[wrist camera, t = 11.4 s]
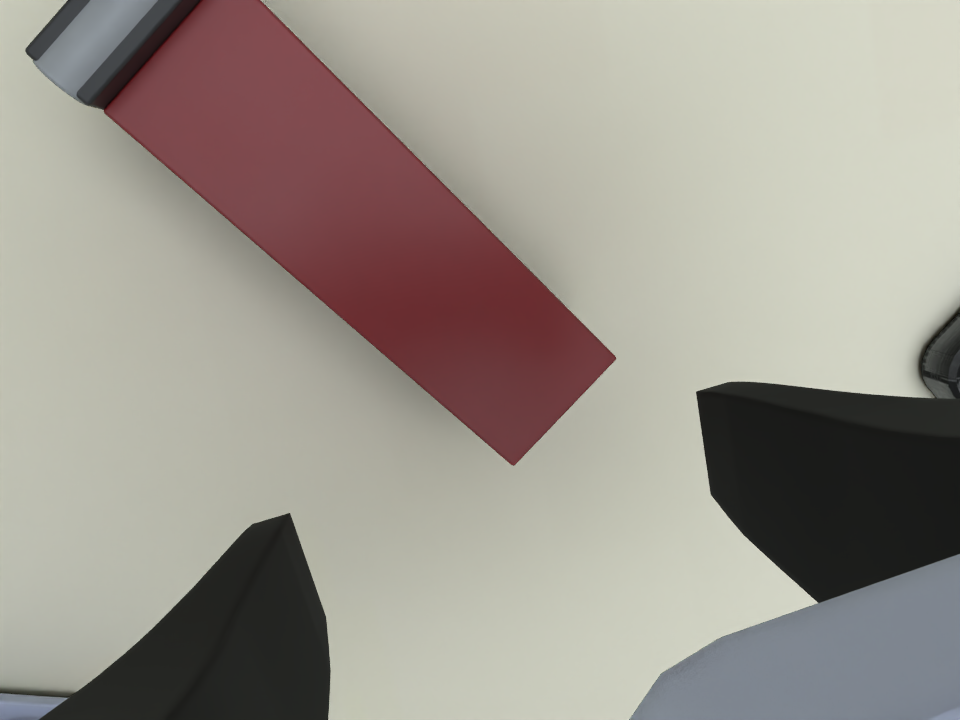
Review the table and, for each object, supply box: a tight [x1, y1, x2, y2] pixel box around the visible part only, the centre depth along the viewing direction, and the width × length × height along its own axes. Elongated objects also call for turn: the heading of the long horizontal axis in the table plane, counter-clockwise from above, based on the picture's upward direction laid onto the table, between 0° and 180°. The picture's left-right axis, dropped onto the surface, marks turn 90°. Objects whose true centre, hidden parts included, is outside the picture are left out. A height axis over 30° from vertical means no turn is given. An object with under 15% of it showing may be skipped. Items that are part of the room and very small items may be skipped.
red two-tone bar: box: [25, 0, 616, 466], centre depth 17 cm, size 13×4×6 cm, turn 46°
